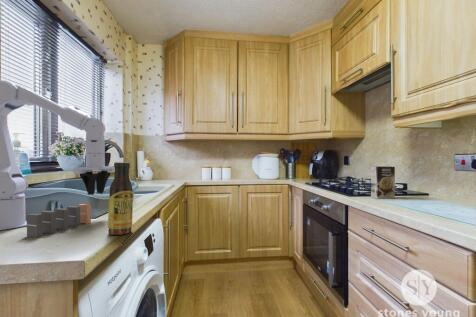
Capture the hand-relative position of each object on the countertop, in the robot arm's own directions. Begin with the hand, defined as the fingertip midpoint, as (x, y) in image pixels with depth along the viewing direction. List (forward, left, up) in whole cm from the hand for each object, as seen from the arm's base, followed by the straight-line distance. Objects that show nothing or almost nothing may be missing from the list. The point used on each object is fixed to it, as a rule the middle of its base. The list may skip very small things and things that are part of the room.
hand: (95, 193), depth 89 cm
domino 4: (+3, -8, -9) cm, 12 cm away
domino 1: (+7, -18, -9) cm, 22 cm away
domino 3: (+4, -11, -9) cm, 15 cm away
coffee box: (+67, +112, -9) cm, 131 cm away
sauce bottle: (+22, -2, -9) cm, 24 cm away
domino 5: (+1, -4, -9) cm, 10 cm away
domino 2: (+5, -15, -9) cm, 18 cm away
